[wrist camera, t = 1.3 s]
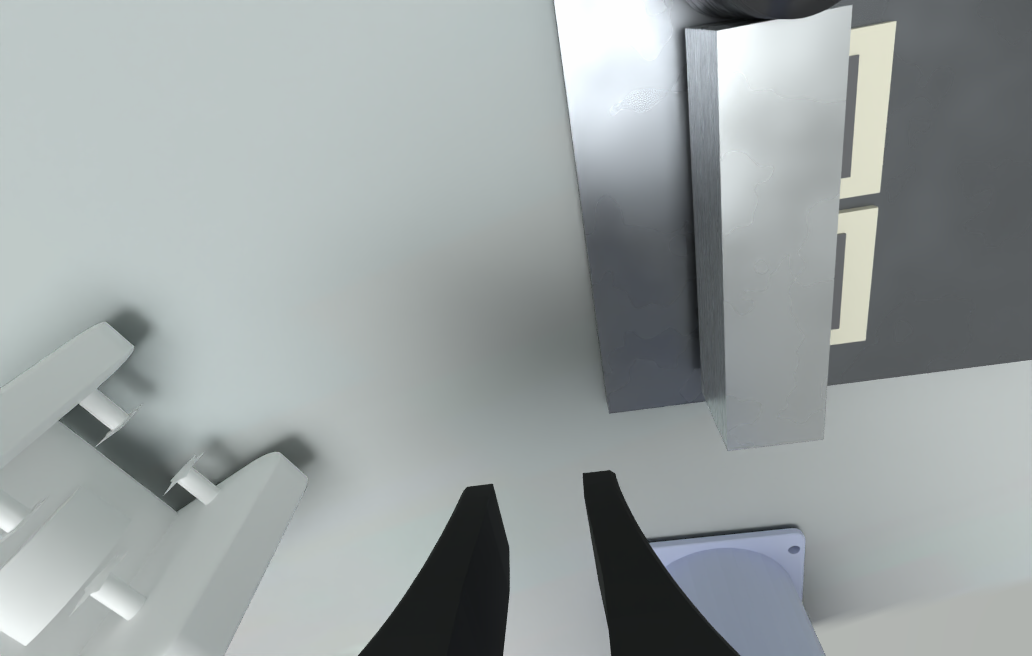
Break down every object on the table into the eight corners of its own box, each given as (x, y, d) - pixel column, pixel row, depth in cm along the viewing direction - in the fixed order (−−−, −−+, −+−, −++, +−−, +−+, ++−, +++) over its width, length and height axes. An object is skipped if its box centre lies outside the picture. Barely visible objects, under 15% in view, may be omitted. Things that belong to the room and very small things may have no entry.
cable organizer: (142, 283, 23) (-180, 500, 13) (334, 461, 27) (207, 739, 16) (-62, 458, 27) (-422, 724, 17) (128, 589, 31) (-75, 873, 21)
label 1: (875, 189, 20) (881, 193, 19) (719, 215, 20) (722, 218, 20) (891, 20, 17) (898, 21, 17) (714, 54, 18) (718, 55, 18)
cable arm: (669, -103, 16) (722, -150, 11) (792, -130, 16) (898, -191, 11) (694, 382, 23) (734, 474, 18) (780, 371, 23) (842, 461, 18)
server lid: (1025, 347, 23) (1041, 358, 22) (607, 401, 25) (609, 413, 24) (1160, -225, 15) (1190, -237, 15) (541, -88, 17) (542, -92, 16)
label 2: (861, 336, 22) (867, 341, 22) (722, 355, 23) (725, 360, 22) (873, 205, 20) (879, 208, 19) (719, 229, 20) (722, 233, 20)
